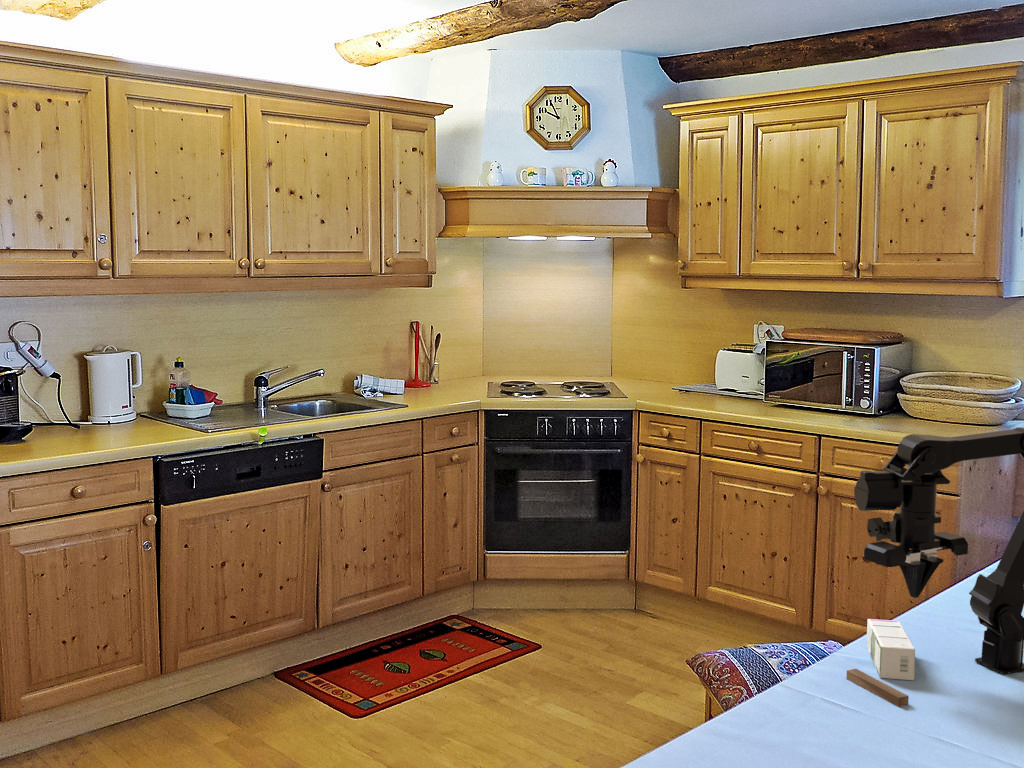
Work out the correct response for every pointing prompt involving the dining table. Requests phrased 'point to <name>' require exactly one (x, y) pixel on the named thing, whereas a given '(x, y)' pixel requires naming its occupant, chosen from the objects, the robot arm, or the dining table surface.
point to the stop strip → (877, 687)
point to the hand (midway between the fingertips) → (914, 597)
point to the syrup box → (890, 649)
